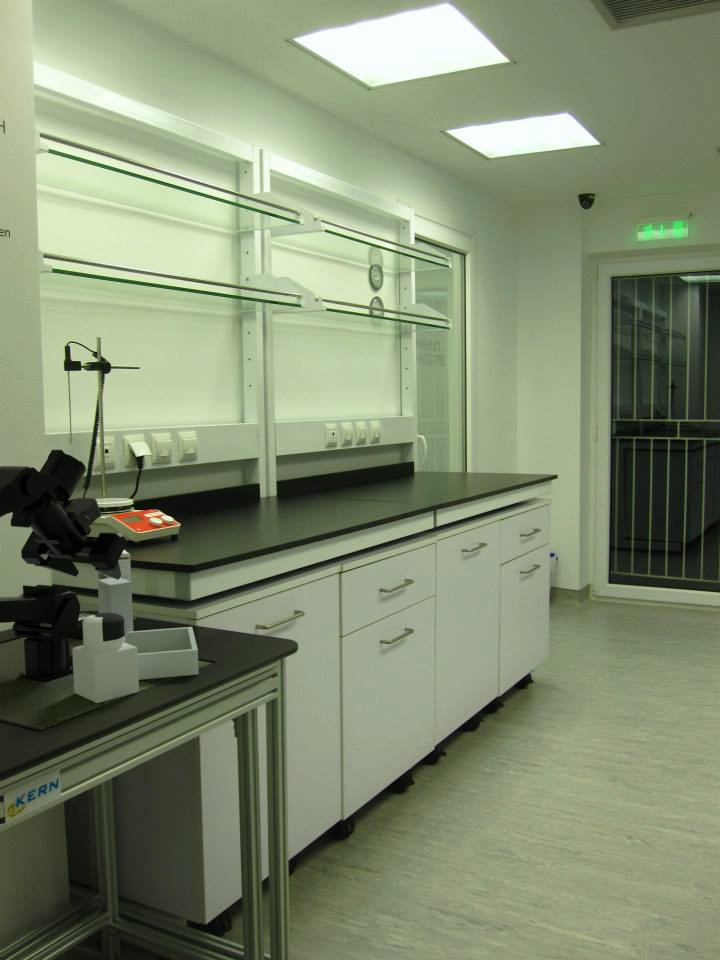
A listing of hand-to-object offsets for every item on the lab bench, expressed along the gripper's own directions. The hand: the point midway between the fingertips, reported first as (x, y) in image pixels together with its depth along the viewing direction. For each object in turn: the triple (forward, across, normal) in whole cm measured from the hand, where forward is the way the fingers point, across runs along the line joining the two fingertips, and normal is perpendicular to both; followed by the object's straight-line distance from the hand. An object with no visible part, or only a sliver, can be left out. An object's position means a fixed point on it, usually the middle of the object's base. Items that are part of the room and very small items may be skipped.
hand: (97, 575), depth 158 cm
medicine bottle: (-3, -16, +23) cm, 28 cm away
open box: (+8, -15, +12) cm, 20 cm away
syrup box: (+22, +11, -3) cm, 25 cm away
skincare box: (+13, 0, +7) cm, 15 cm away
